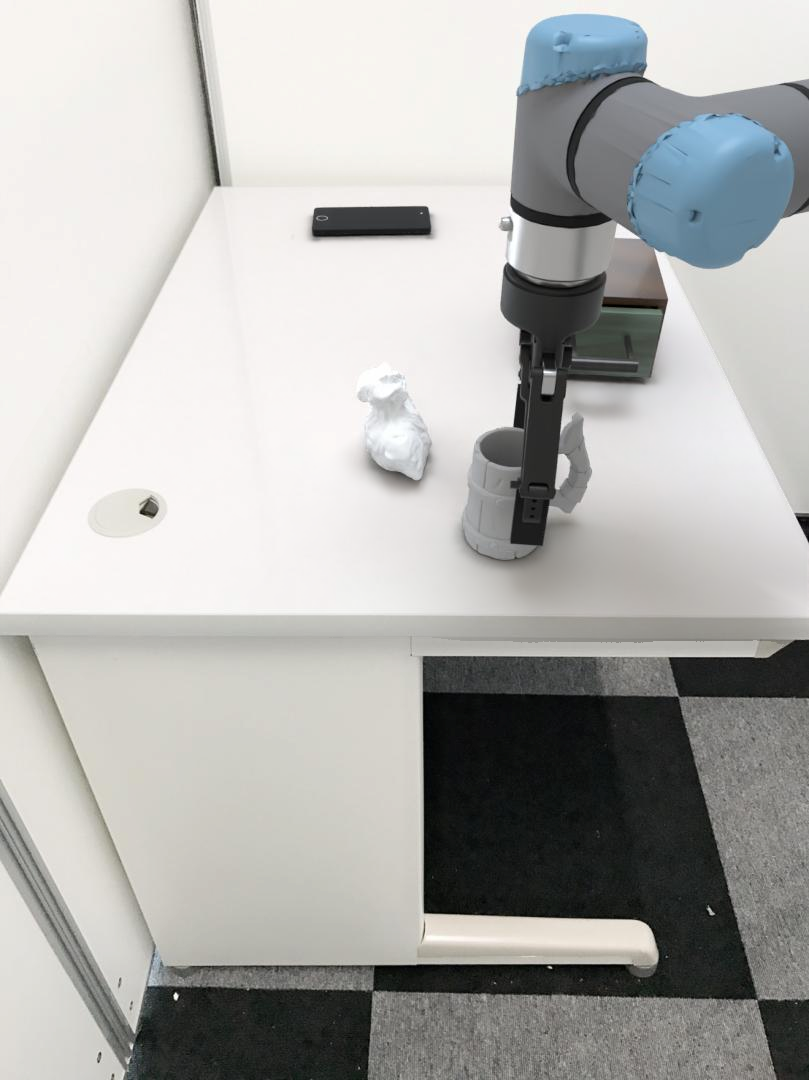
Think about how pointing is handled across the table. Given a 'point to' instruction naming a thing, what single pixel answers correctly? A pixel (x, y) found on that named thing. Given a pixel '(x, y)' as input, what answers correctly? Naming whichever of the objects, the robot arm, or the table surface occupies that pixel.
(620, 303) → the cabinet
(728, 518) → the table surface
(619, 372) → the drawer
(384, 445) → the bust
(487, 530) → the mug
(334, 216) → the cell phone
